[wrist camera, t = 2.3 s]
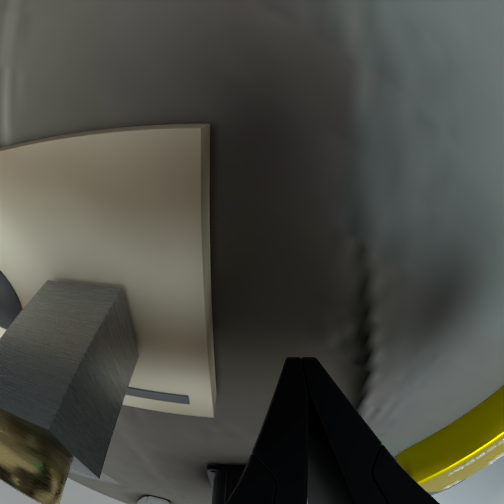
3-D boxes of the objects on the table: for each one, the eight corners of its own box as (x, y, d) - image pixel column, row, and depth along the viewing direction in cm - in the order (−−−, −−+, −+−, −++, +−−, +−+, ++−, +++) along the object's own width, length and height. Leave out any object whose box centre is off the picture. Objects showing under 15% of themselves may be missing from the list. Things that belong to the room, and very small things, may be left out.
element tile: (528, 359, 15) (552, 399, 10) (528, 401, 20) (542, 429, 15) (387, 454, 20) (396, 498, 16) (431, 466, 25) (439, 495, 21)
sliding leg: (139, 355, 10) (88, 524, 4) (72, 343, 10) (6, 484, 4) (121, 288, 8) (25, 492, 3) (47, 280, 8) (-57, 433, 3)
